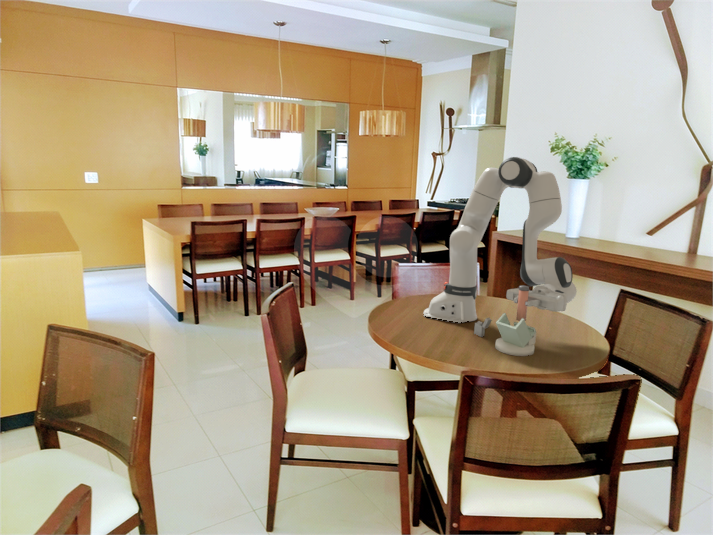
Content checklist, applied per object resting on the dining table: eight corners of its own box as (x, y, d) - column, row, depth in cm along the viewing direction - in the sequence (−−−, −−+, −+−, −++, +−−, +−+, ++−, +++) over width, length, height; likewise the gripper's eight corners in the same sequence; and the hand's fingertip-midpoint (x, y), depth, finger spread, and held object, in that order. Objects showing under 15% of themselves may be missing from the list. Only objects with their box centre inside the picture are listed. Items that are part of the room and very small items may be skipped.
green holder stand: (518, 358, 160) (522, 322, 157) (487, 346, 170) (490, 312, 167) (541, 351, 167) (545, 316, 165) (510, 340, 178) (513, 307, 175)
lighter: (473, 333, 184) (475, 313, 182) (477, 333, 184) (478, 313, 183) (486, 339, 177) (488, 318, 176) (490, 339, 178) (492, 318, 177)
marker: (516, 320, 166) (519, 287, 164) (516, 318, 170) (518, 285, 167) (526, 321, 166) (529, 287, 163) (525, 319, 169) (529, 285, 166)
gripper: (520, 282, 181) (497, 287, 173) (571, 294, 165) (548, 299, 157) (518, 299, 183) (495, 304, 175) (569, 312, 167) (546, 318, 158)
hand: (521, 302), depth 166 cm, fingers closed on marker, 3 cm apart
